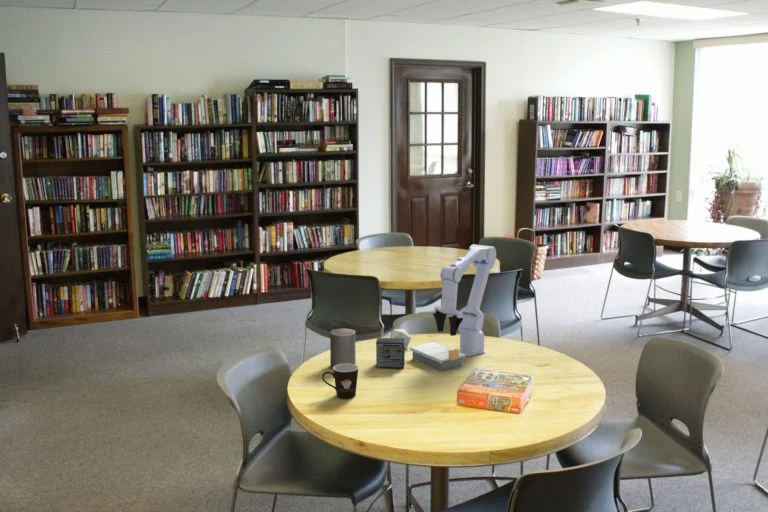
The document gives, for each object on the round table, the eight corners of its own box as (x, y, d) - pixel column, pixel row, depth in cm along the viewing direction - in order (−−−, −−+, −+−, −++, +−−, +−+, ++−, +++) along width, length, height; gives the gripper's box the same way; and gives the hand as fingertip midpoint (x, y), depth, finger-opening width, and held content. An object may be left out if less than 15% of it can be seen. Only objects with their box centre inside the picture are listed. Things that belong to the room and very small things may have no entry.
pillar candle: (325, 365, 288) (324, 327, 285) (346, 360, 294) (346, 323, 291) (339, 372, 280) (339, 333, 278) (361, 367, 286) (360, 329, 283)
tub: (432, 354, 301) (432, 344, 301) (462, 366, 287) (462, 356, 286) (412, 358, 296) (412, 349, 295) (441, 371, 281) (441, 361, 281)
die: (405, 354, 304) (416, 332, 306) (387, 343, 303) (397, 322, 306) (401, 355, 312) (411, 334, 314) (383, 345, 311) (393, 324, 313)
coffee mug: (362, 392, 260) (362, 365, 258) (353, 401, 252) (353, 373, 250) (331, 388, 264) (330, 361, 262) (321, 397, 256) (320, 369, 254)
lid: (433, 345, 302) (433, 334, 301) (466, 358, 286) (466, 347, 285) (410, 350, 295) (410, 339, 294) (442, 363, 279) (442, 353, 278)
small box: (405, 363, 290) (405, 337, 288) (403, 369, 284) (403, 342, 282) (377, 362, 291) (377, 336, 289) (375, 368, 285) (375, 341, 283)
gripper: (429, 295, 289) (426, 330, 290) (453, 301, 277) (450, 337, 278) (443, 294, 293) (440, 329, 294) (468, 300, 281) (465, 336, 282)
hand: (446, 333), depth 286 cm, fingers open, 7 cm apart
